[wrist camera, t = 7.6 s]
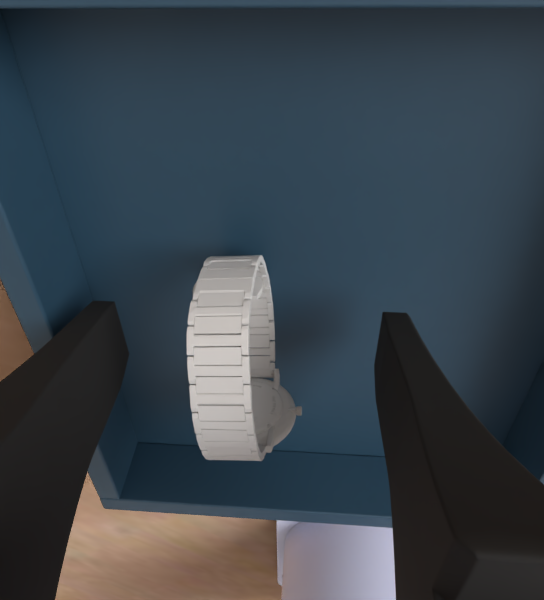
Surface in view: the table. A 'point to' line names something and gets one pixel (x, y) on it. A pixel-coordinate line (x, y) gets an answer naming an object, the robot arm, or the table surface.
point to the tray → (281, 219)
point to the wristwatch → (235, 362)
